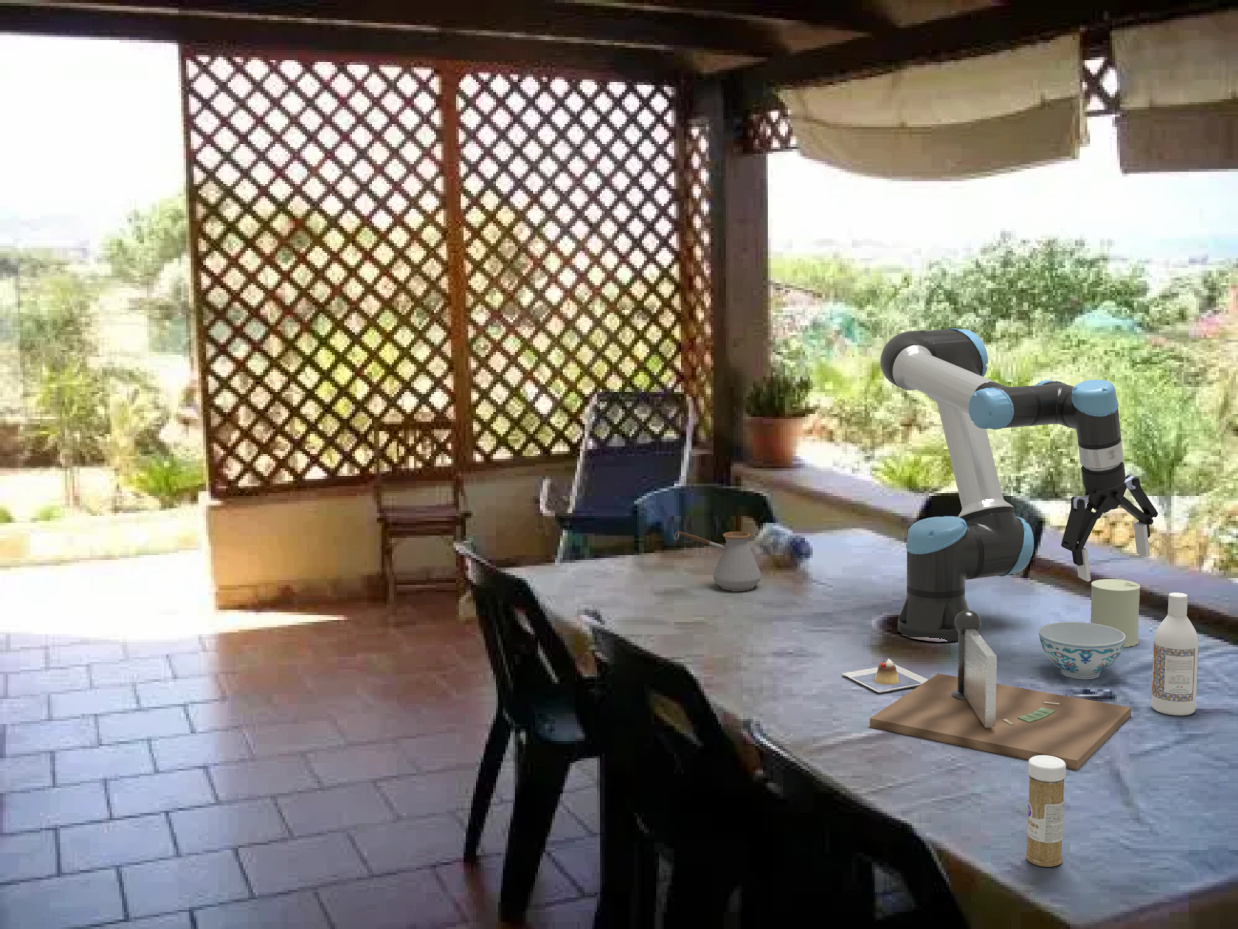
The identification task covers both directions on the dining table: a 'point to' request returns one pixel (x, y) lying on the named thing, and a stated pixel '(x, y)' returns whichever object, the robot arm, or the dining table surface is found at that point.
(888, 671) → the dessert
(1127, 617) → the can
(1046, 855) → the sprinkles bottle
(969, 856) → the dining table surface
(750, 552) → the coffee pot
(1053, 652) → the chinaware
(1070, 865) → the dining table surface
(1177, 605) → the bath foam
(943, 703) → the brown wooden cutting board
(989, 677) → the panel with knobbed post
